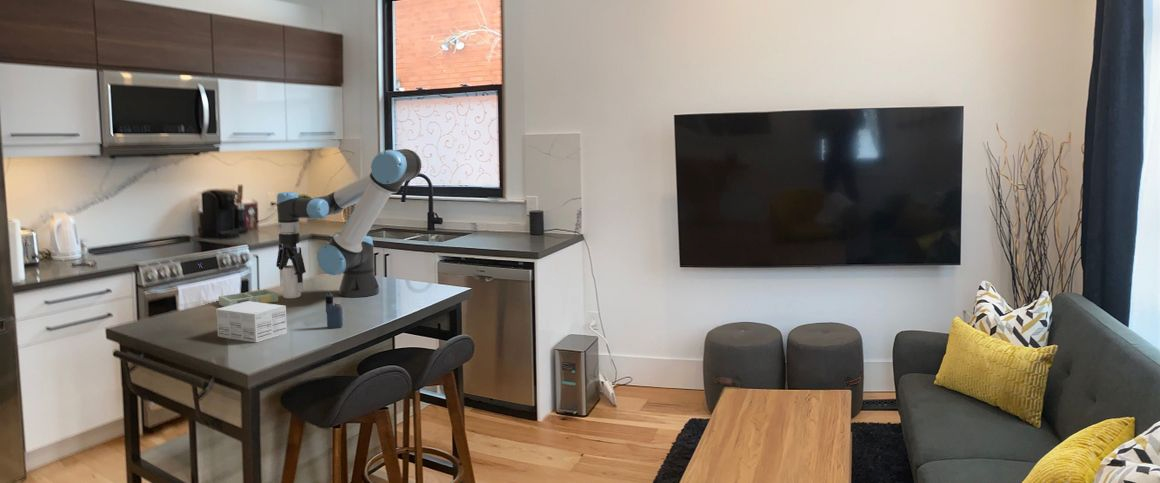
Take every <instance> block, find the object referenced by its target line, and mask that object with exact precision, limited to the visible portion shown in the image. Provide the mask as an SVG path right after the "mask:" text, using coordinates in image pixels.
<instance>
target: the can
mask: <svg viewBox="0 0 1160 483" xmlns="http://www.w3.org/2000/svg"><path fill="white" fill-rule="evenodd" d="M282 282H283V286H282V295H283V296H282V297H283V298H284V299H288V300H291V299H298V298H301V296H302V291H296V289H295V269H294V266H293V264H289V265H288V264H287V266H284V267H283V270H282Z"/></svg>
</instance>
